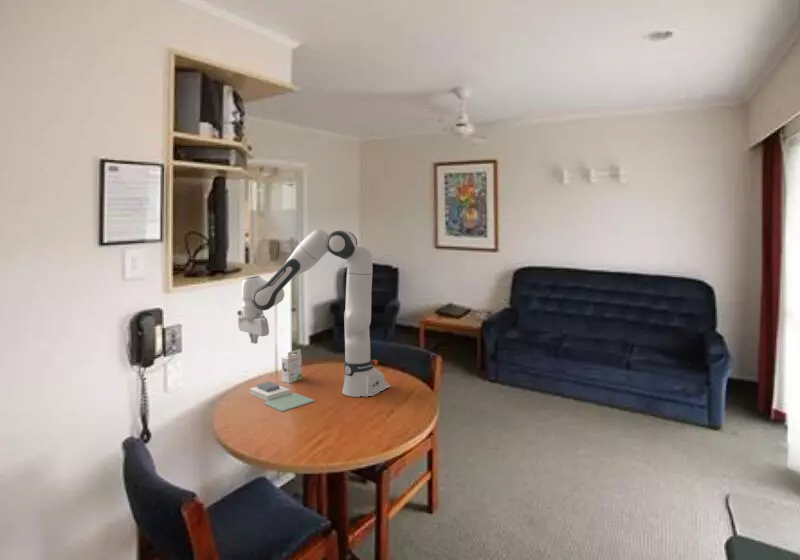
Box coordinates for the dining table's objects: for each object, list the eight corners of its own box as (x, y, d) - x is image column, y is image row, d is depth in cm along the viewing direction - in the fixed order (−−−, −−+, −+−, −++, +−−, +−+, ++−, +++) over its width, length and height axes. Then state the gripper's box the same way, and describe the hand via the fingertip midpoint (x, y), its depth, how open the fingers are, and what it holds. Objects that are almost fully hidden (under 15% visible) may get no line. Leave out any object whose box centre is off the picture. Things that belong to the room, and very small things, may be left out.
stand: (271, 387, 225) (271, 382, 224) (289, 395, 215) (289, 389, 215) (250, 393, 217) (249, 388, 216) (267, 401, 207) (267, 395, 207)
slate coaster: (269, 384, 221) (269, 381, 221) (279, 388, 216) (279, 385, 216) (257, 388, 217) (257, 384, 217) (267, 392, 211) (267, 388, 211)
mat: (295, 393, 217) (295, 392, 217) (314, 401, 207) (314, 400, 207) (262, 403, 205) (262, 402, 205) (281, 411, 195) (281, 410, 195)
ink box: (295, 376, 241) (294, 347, 239) (302, 378, 238) (301, 348, 237) (281, 381, 234) (280, 351, 232) (288, 383, 231) (287, 352, 230)
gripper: (272, 314, 215) (273, 345, 217) (247, 309, 229) (248, 338, 231) (259, 316, 211) (260, 348, 212) (235, 311, 225) (236, 340, 226)
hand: (254, 343), depth 221 cm, fingers closed
